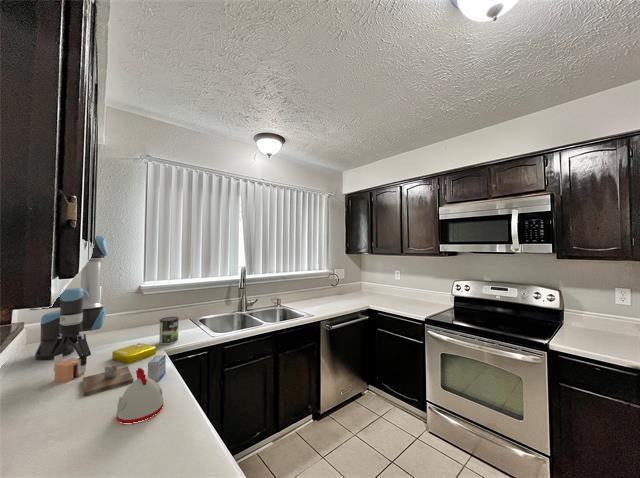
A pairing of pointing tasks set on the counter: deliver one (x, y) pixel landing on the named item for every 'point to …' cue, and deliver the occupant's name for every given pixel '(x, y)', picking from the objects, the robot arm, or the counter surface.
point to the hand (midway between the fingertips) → (69, 371)
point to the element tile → (133, 353)
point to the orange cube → (67, 370)
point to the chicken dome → (140, 400)
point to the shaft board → (107, 379)
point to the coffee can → (168, 330)
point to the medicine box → (157, 367)
